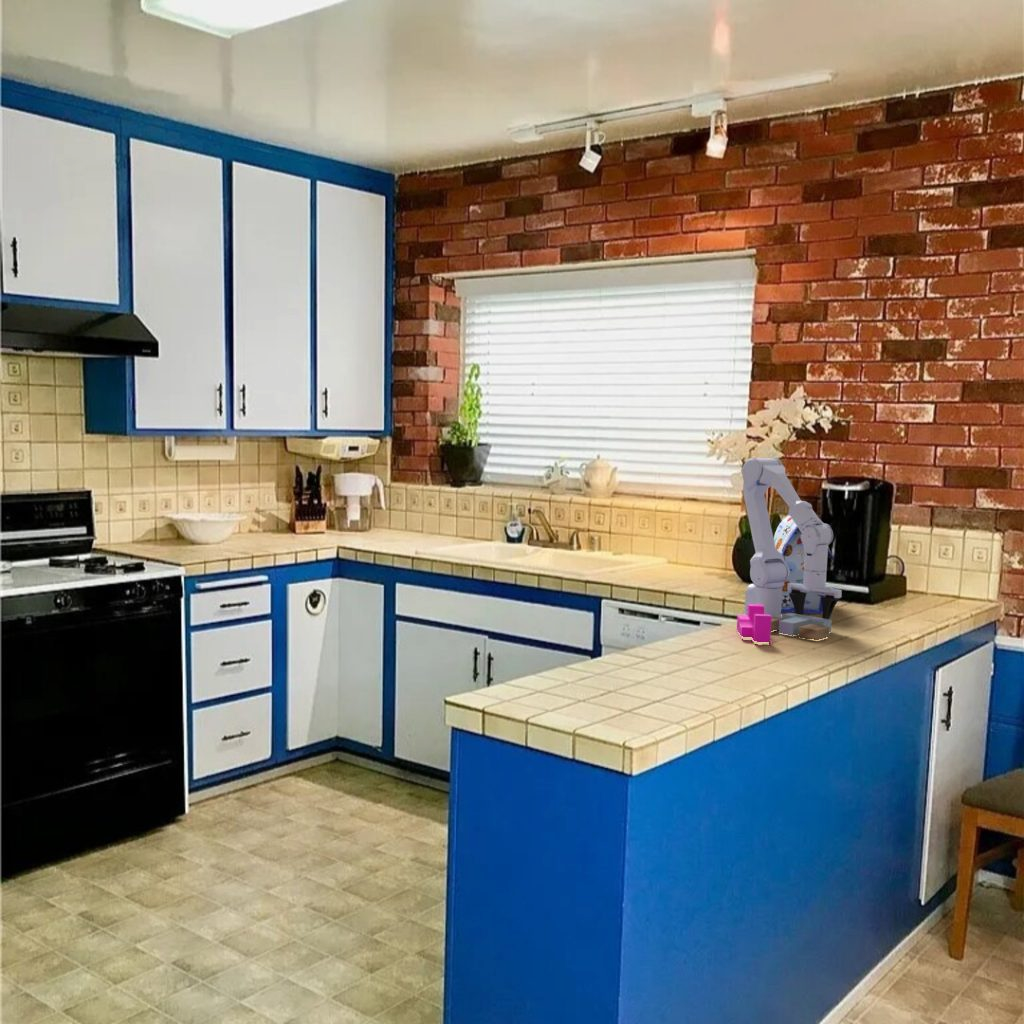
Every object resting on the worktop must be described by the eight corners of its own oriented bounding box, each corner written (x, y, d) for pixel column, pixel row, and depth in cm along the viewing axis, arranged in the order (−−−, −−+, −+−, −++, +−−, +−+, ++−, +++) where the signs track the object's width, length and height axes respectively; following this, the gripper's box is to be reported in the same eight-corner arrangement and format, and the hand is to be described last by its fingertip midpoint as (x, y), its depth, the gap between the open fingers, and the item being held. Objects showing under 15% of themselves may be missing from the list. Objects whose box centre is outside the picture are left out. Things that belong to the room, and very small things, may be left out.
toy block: (736, 632, 267) (738, 603, 266) (761, 633, 266) (762, 604, 265) (743, 645, 252) (745, 615, 251) (769, 646, 251) (771, 616, 250)
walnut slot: (753, 629, 269) (754, 618, 269) (765, 626, 273) (766, 615, 273) (816, 642, 256) (817, 630, 256) (828, 638, 260) (829, 626, 260)
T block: (764, 631, 267) (765, 618, 267) (789, 625, 276) (790, 612, 275) (806, 639, 259) (807, 626, 258) (830, 633, 267) (831, 619, 267)
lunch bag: (833, 615, 291) (839, 520, 288) (773, 612, 293) (778, 518, 290) (817, 600, 314) (822, 512, 311) (762, 598, 315) (766, 510, 312)
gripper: (782, 568, 273) (779, 618, 274) (833, 575, 263) (830, 627, 264) (796, 565, 278) (793, 615, 279) (846, 572, 268) (843, 624, 269)
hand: (812, 621), depth 272 cm, fingers closed on T block, 7 cm apart
